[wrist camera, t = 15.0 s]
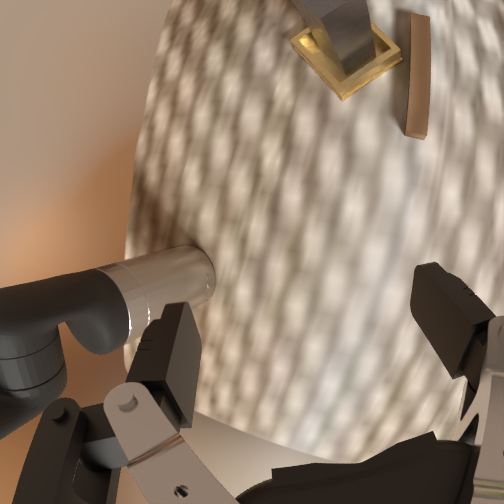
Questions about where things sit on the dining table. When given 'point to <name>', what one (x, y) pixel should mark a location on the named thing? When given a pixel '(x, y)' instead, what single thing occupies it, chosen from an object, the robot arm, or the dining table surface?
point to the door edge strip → (419, 77)
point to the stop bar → (340, 30)
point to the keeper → (357, 78)
